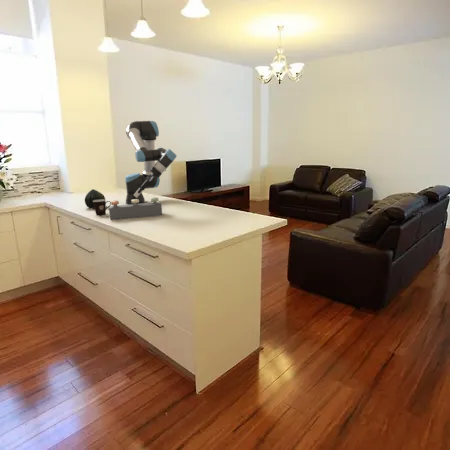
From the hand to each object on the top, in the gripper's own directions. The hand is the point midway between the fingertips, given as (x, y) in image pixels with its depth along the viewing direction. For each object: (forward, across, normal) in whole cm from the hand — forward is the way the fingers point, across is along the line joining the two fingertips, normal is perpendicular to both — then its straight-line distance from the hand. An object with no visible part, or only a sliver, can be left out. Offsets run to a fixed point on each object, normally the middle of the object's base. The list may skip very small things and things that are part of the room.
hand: (135, 196), depth 228 cm
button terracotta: (+14, 0, +5) cm, 15 cm away
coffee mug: (+27, +17, +7) cm, 33 cm away
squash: (+33, +44, +12) cm, 56 cm away
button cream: (+5, 0, -4) cm, 6 cm away
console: (+10, 0, -10) cm, 14 cm away
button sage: (-4, 0, -14) cm, 14 cm away
